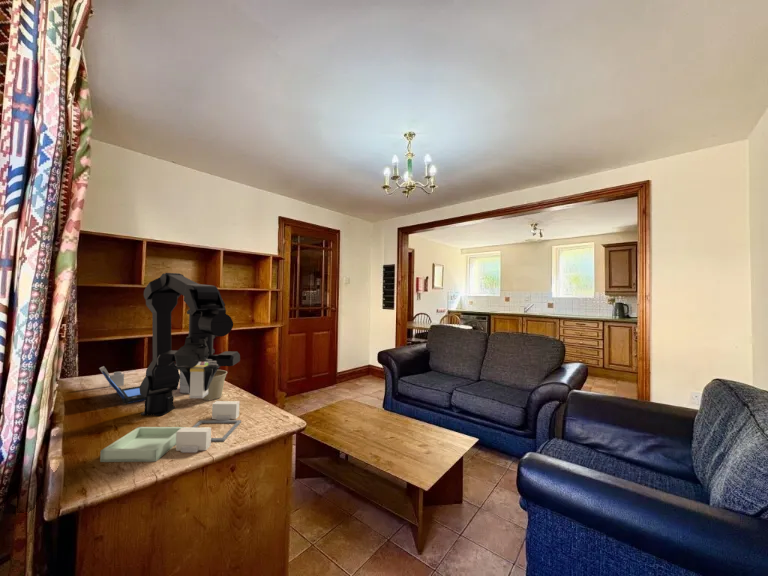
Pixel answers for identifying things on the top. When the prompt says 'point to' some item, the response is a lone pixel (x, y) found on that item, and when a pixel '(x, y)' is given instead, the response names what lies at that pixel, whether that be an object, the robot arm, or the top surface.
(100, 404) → the top surface
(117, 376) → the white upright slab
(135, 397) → the handheld game console
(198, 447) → the headphones
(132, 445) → the tray
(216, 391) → the flower pot
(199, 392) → the yellow-capped grey block
